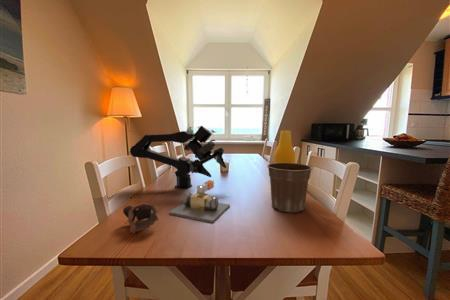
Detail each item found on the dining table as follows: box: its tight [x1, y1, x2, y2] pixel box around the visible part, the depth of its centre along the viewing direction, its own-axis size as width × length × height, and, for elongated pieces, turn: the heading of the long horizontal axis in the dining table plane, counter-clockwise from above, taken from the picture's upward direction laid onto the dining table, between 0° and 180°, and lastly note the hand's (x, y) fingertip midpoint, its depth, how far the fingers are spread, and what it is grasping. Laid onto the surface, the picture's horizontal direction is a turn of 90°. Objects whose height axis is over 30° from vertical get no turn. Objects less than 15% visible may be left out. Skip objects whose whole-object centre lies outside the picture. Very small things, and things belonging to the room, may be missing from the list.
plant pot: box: [267, 162, 313, 214], centre depth 80 cm, size 16×16×16 cm
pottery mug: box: [122, 202, 159, 234], centre depth 64 cm, size 12×10×8 cm
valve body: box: [182, 192, 220, 212], centre depth 77 cm, size 12×5×6 cm, turn 68°
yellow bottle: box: [273, 130, 296, 163], centre depth 96 cm, size 9×9×29 cm
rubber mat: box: [168, 202, 231, 224], centre depth 77 cm, size 17×15×1 cm
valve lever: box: [196, 179, 215, 194], centre depth 80 cm, size 10×3×3 cm, turn 158°
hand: (218, 172), depth 96 cm, fingers open, 9 cm apart
